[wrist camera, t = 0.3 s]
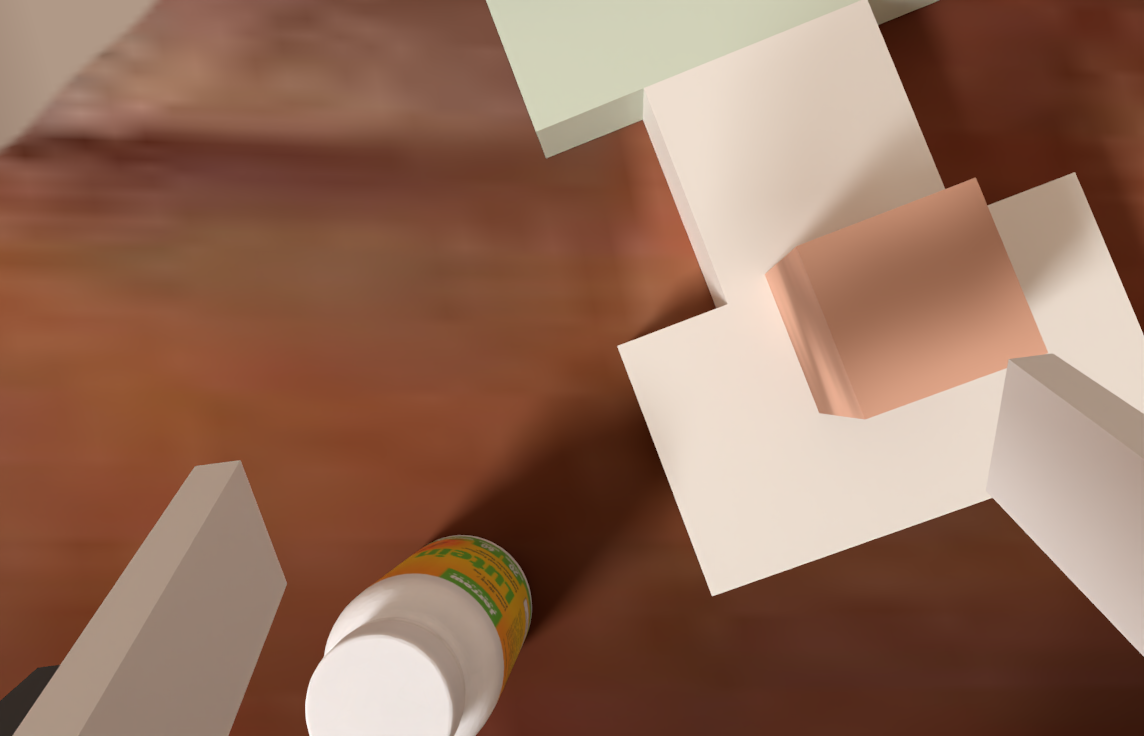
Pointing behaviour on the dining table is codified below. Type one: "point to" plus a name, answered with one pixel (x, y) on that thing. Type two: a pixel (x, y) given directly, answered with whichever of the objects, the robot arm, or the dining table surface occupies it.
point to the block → (904, 305)
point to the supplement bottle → (424, 645)
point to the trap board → (774, 228)
